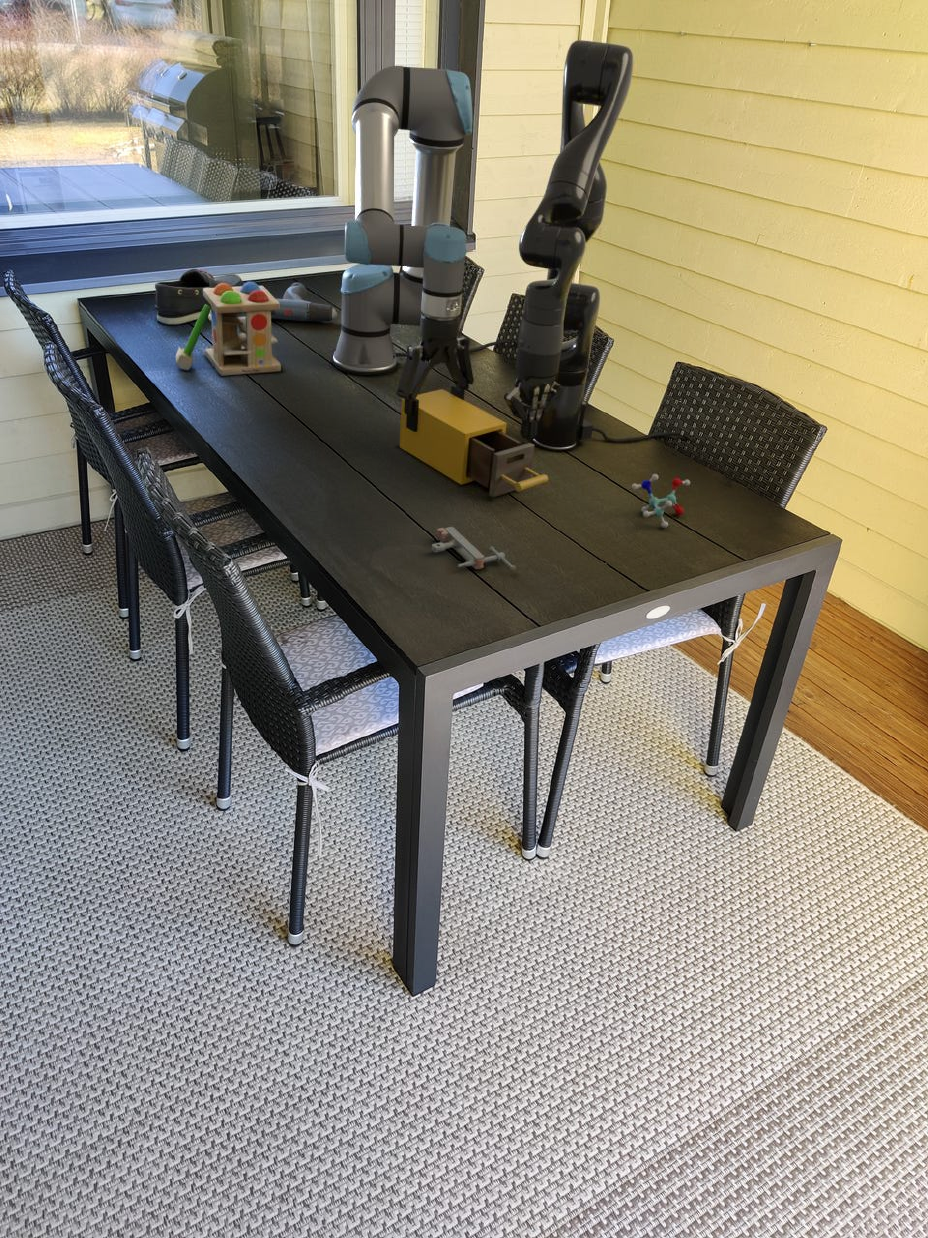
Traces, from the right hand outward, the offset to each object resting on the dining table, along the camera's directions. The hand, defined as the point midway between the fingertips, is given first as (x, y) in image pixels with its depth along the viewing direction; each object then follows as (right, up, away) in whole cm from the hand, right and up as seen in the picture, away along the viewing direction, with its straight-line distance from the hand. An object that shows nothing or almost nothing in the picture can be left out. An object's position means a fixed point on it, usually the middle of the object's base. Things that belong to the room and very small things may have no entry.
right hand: (527, 438), depth 178 cm
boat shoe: (-82, +50, +85) cm, 128 cm away
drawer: (-7, -6, +12) cm, 15 cm away
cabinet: (-15, -1, +20) cm, 25 cm away
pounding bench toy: (-68, +27, +52) cm, 90 cm away
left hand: (-18, +7, +20) cm, 28 cm away
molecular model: (+24, -14, +7) cm, 29 cm away
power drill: (-55, +50, +89) cm, 116 cm away
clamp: (-11, -23, -12) cm, 28 cm away
